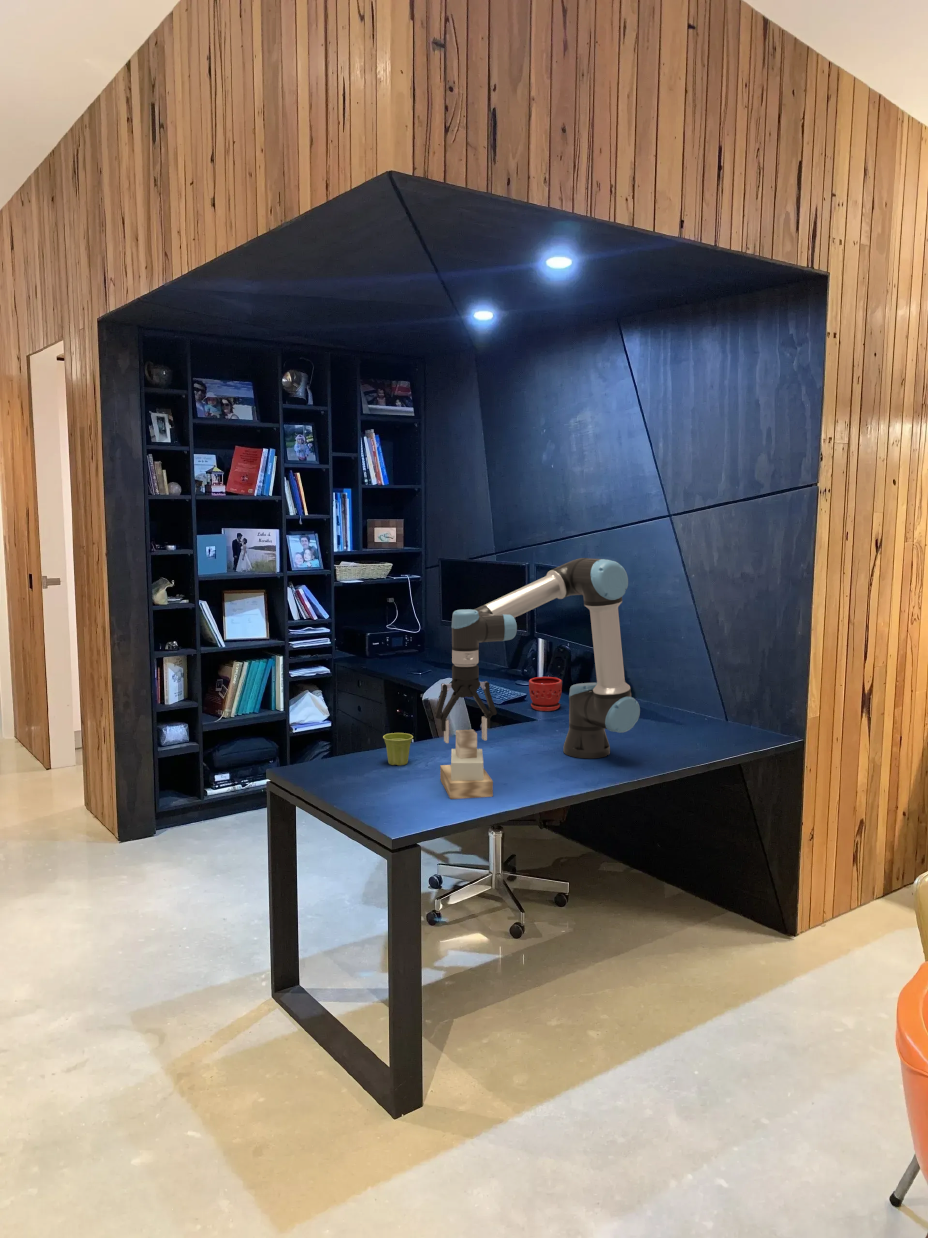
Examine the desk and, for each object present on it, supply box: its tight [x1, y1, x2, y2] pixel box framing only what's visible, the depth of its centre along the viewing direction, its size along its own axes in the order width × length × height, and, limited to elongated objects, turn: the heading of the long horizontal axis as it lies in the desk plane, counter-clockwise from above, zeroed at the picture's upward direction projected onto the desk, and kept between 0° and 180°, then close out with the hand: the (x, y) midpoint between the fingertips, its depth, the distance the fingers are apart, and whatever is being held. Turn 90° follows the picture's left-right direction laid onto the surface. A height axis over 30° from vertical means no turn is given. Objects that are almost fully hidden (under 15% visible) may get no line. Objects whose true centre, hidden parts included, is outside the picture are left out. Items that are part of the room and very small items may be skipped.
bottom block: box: [439, 764, 494, 800], centre depth 262 cm, size 12×18×5 cm, turn 10°
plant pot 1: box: [382, 732, 414, 767], centre depth 287 cm, size 9×9×9 cm
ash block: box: [455, 729, 478, 759], centre depth 261 cm, size 5×5×7 cm
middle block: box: [450, 748, 484, 781], centre depth 262 cm, size 9×15×5 cm, turn 0°
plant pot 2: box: [528, 676, 563, 712], centre depth 364 cm, size 13×13×12 cm
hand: (465, 740), depth 261 cm, fingers open, 10 cm apart
